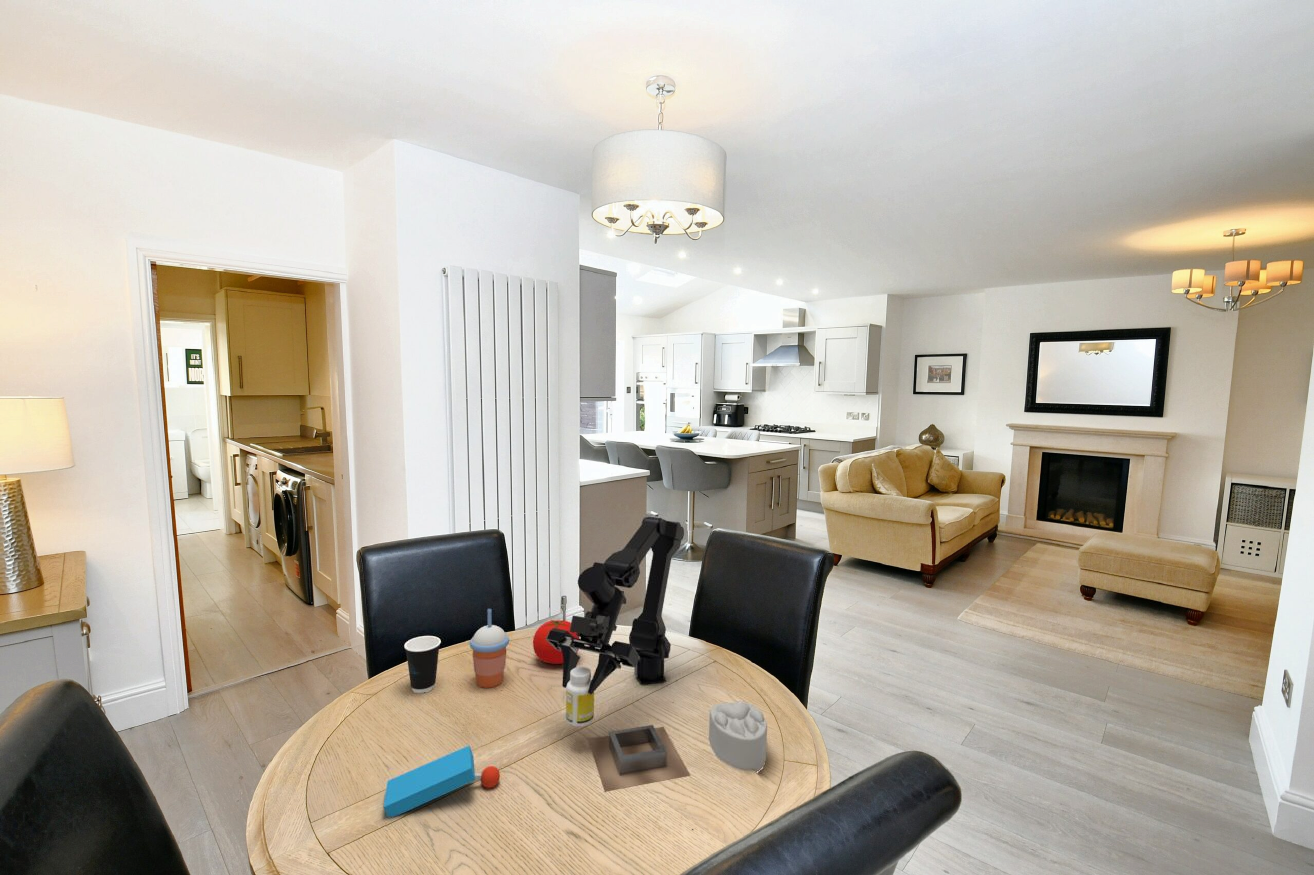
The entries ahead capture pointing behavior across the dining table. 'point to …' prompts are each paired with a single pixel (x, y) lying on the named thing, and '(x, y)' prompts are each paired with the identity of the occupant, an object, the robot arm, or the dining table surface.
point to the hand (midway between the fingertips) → (576, 690)
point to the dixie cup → (422, 662)
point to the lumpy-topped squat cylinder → (738, 735)
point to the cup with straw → (489, 654)
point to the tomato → (544, 647)
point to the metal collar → (637, 760)
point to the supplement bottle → (579, 698)
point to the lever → (435, 781)
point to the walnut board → (616, 781)
